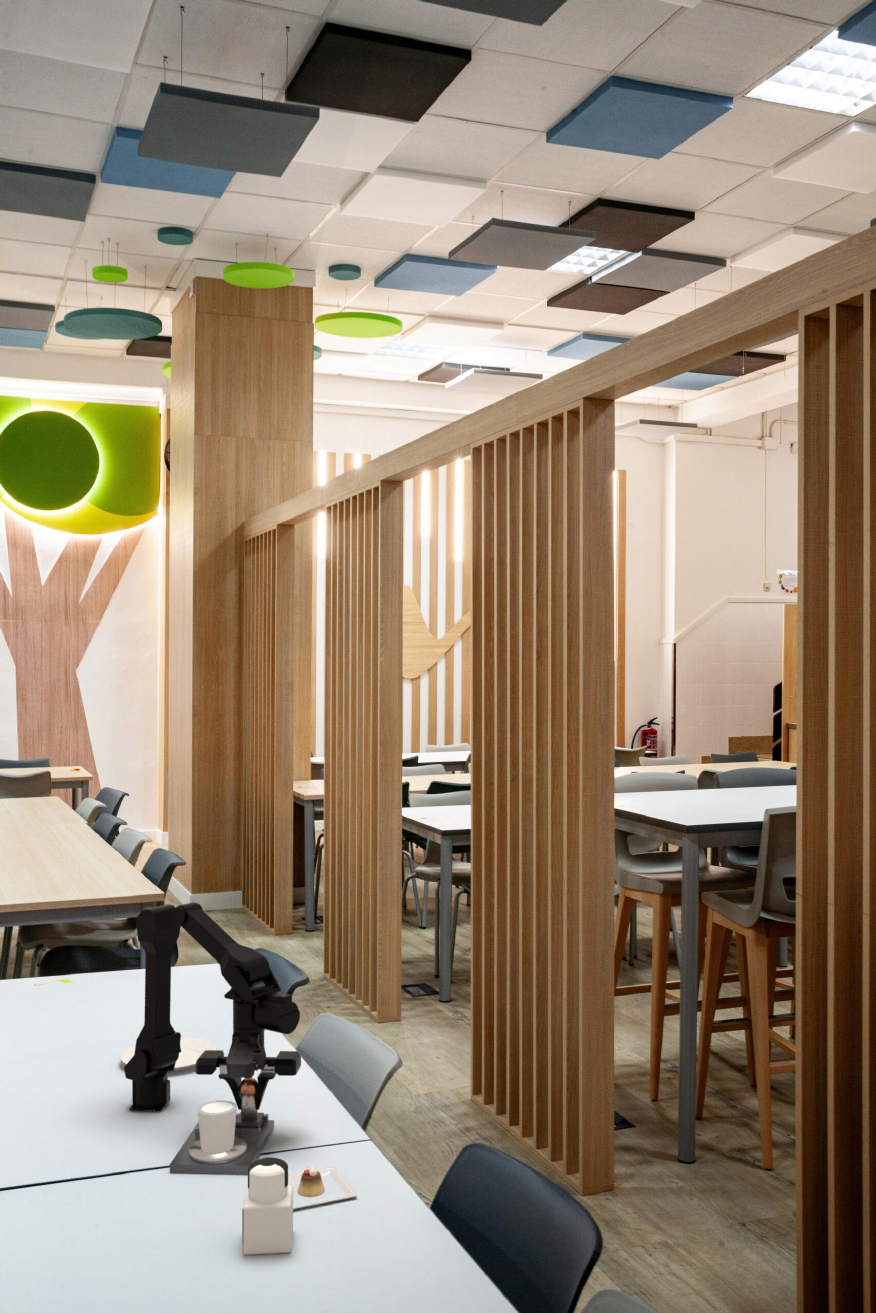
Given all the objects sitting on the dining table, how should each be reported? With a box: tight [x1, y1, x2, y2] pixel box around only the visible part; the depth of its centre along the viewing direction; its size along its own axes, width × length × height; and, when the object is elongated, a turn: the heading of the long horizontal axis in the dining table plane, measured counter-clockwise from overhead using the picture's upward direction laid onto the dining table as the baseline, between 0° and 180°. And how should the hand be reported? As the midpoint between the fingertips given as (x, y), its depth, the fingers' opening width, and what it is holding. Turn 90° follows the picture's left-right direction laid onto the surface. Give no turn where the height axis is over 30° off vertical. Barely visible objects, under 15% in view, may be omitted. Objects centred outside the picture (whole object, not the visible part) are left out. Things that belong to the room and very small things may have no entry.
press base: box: [169, 1113, 275, 1176], centre depth 205 cm, size 14×20×3 cm
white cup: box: [196, 1100, 238, 1153], centre depth 200 cm, size 7×7×7 cm
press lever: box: [235, 1077, 265, 1128], centre depth 210 cm, size 4×5×9 cm
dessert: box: [288, 1165, 358, 1211], centre depth 188 cm, size 12×12×5 cm
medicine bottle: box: [241, 1156, 294, 1256], centre depth 171 cm, size 7×7×12 cm
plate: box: [119, 1037, 218, 1073], centre depth 252 cm, size 21×21×2 cm
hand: (249, 1109), depth 210 cm, fingers closed on press lever, 3 cm apart
